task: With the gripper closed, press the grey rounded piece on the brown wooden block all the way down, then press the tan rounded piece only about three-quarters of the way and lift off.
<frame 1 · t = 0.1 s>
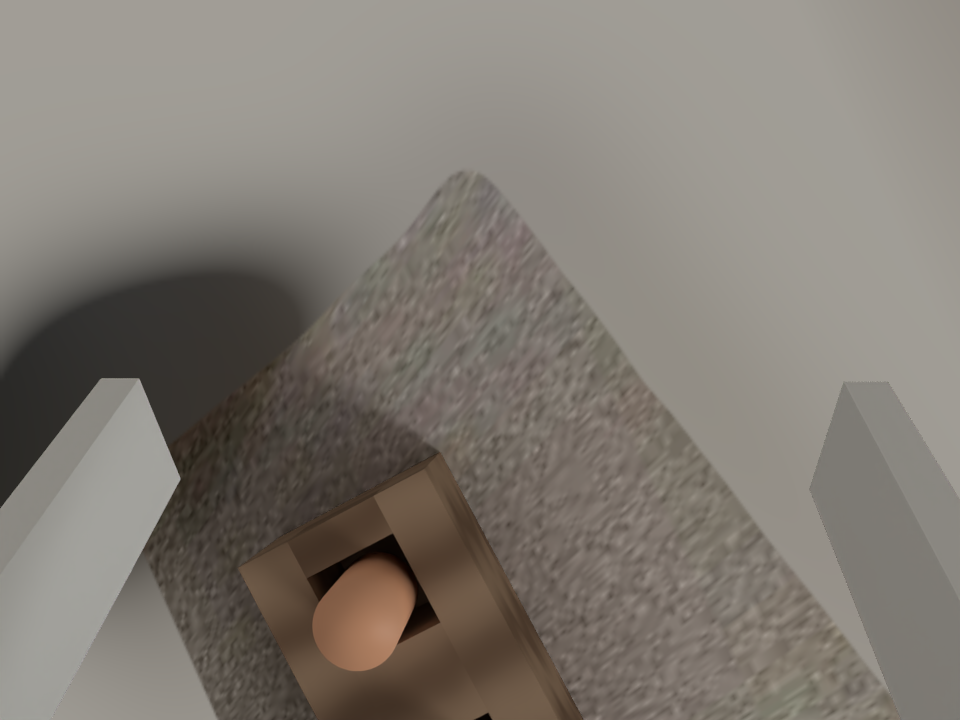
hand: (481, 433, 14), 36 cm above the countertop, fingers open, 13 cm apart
brown wooden block: (436, 642, 51), on the countertop
tan rounded piece: (368, 607, 43), point 8 cm above the countertop, slide at 0.0 cm
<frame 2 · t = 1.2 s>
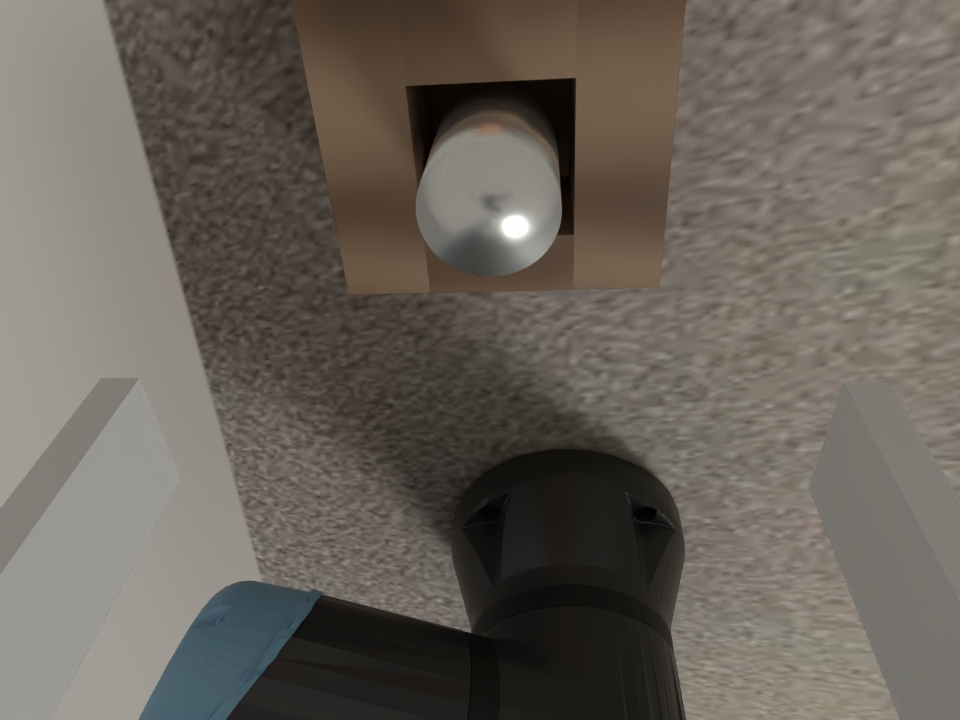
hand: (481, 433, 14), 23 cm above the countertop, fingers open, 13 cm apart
grey rounded piece: (492, 177, 26), point 8 cm above the countertop, slide at 0.0 cm
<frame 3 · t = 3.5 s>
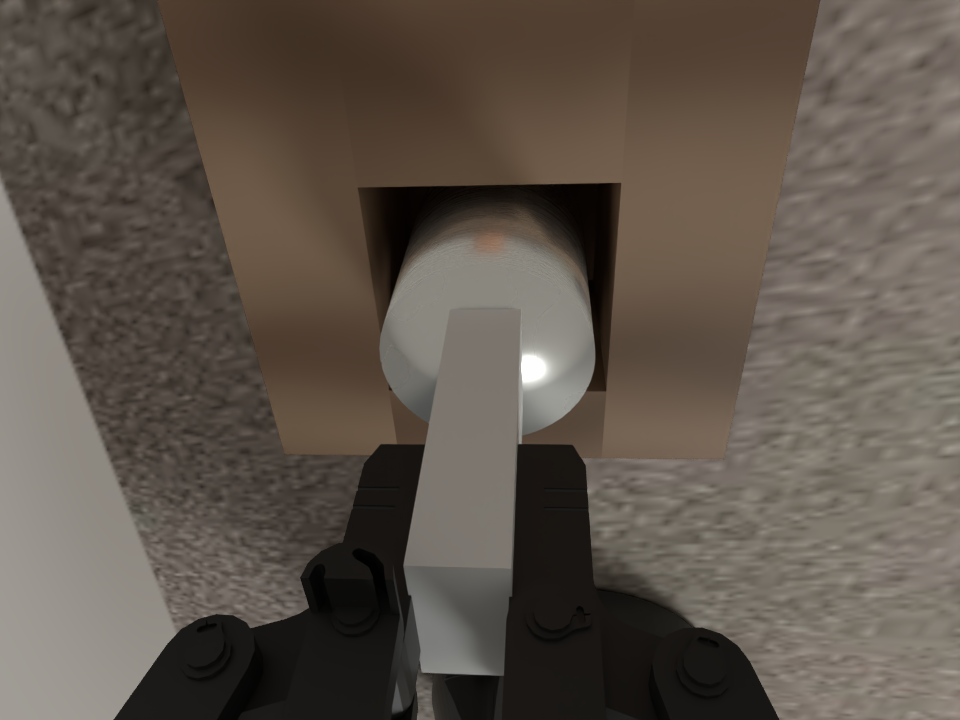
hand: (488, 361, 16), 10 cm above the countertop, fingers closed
grey rounded piece: (493, 289, 19), point 7 cm above the countertop, slide at 1.6 cm, touching gripper
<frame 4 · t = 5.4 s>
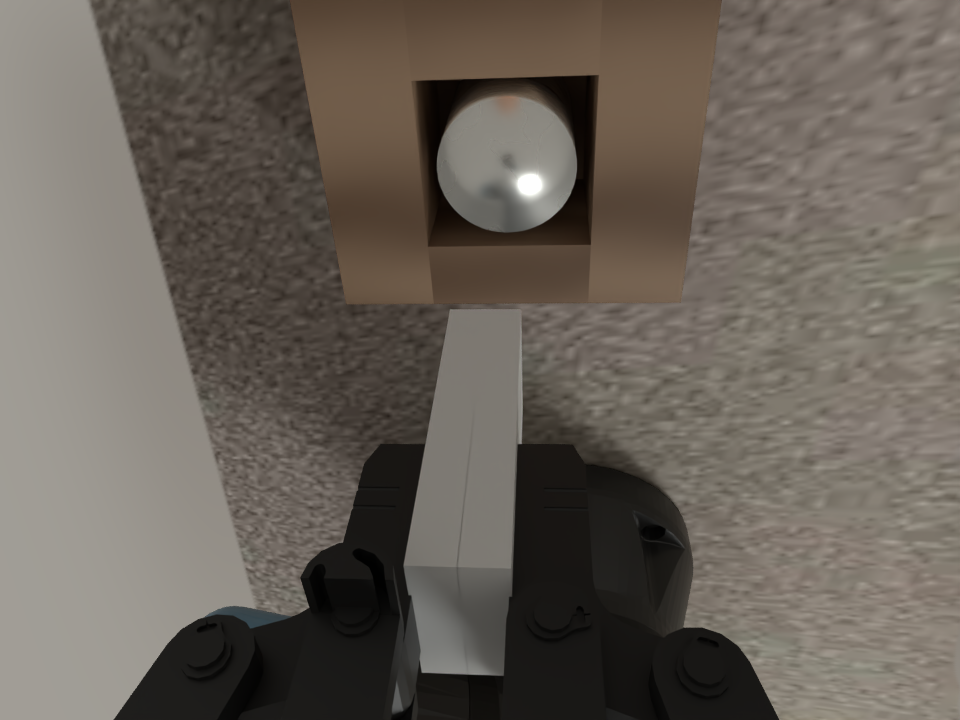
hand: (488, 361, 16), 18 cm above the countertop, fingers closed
grey rounded piece: (509, 137, 27), point 4 cm above the countertop, slide at 4.1 cm
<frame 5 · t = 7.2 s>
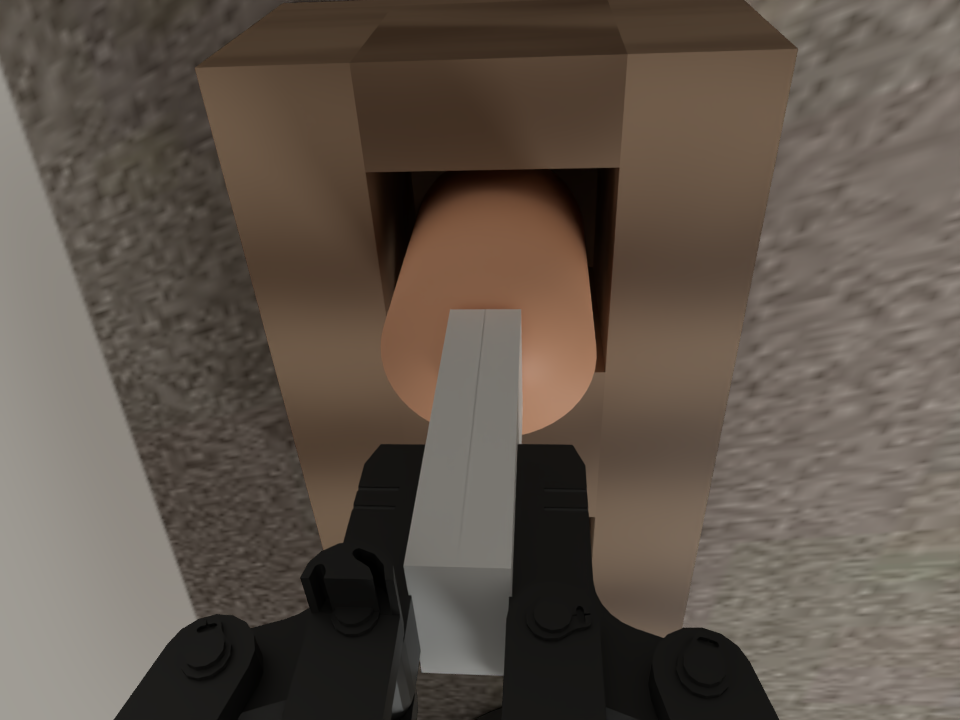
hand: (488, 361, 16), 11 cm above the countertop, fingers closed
brown wooden block: (509, 323, 28), on the countertop
tan rounded piece: (494, 288, 19), point 7 cm above the countertop, slide at 0.8 cm, touching gripper
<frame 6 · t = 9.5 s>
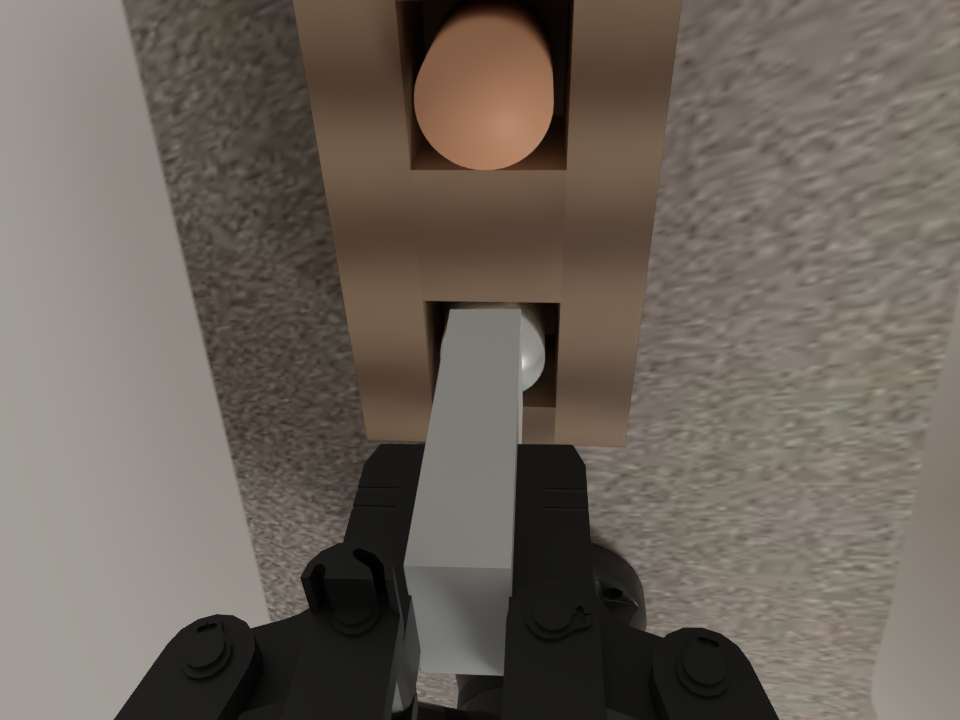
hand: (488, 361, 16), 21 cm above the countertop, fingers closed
brown wooden block: (498, 170, 35), on the countertop
tan rounded piece: (488, 77, 27), point 5 cm above the countertop, slide at 2.8 cm
grey rounded piece: (495, 320, 36), point 4 cm above the countertop, slide at 4.1 cm
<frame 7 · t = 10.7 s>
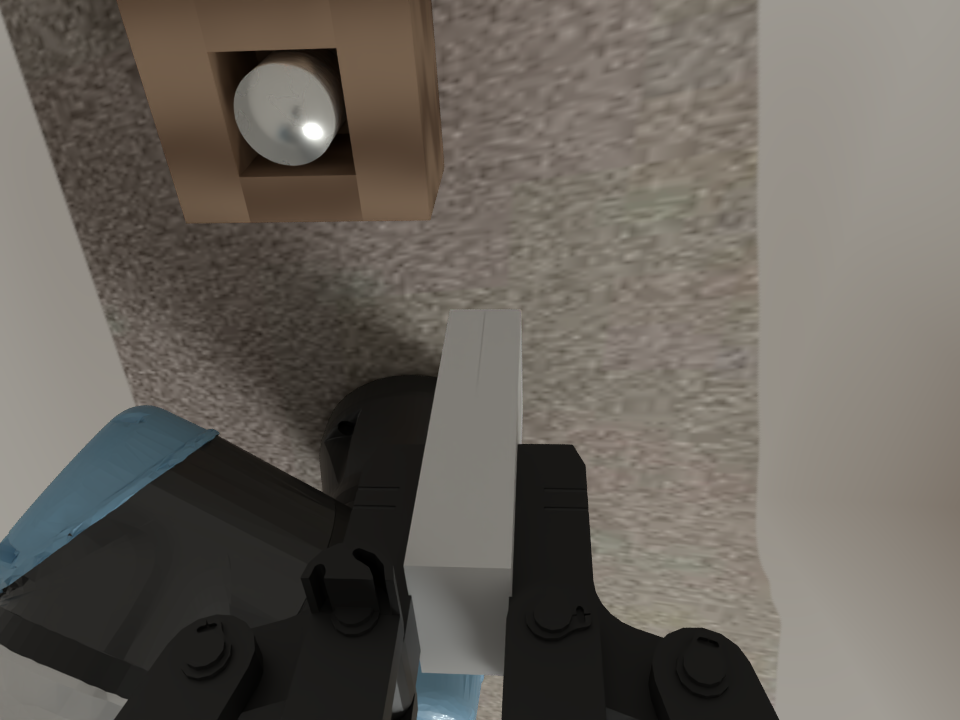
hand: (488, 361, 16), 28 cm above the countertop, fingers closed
grey rounded piece: (300, 97, 37), point 4 cm above the countertop, slide at 4.1 cm
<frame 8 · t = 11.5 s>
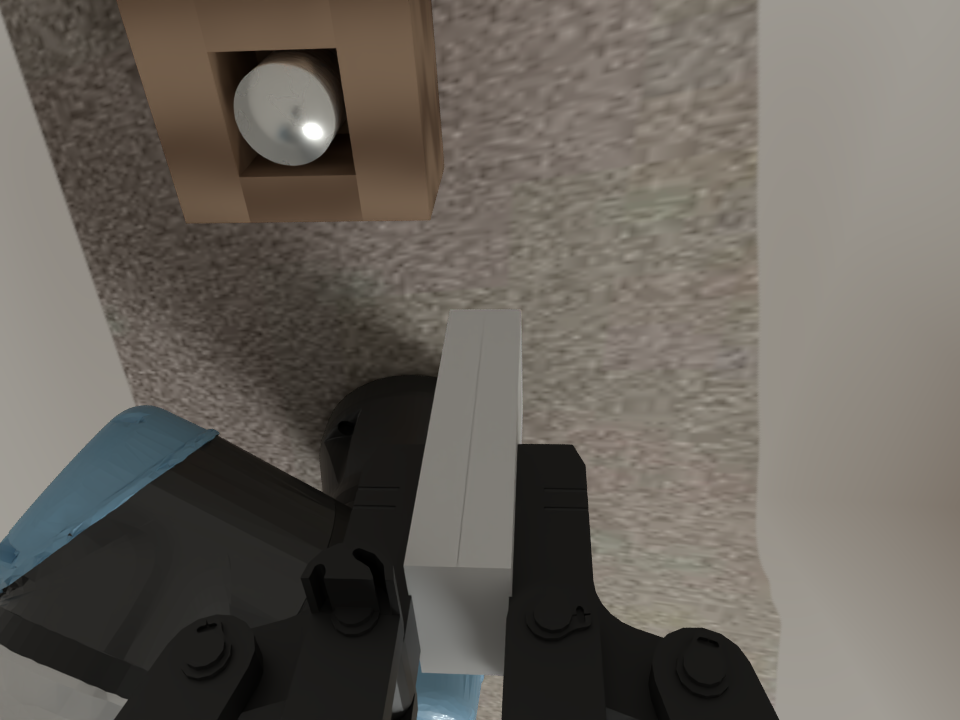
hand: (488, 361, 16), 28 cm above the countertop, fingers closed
grey rounded piece: (300, 97, 37), point 4 cm above the countertop, slide at 4.1 cm
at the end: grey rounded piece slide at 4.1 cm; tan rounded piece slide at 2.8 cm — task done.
